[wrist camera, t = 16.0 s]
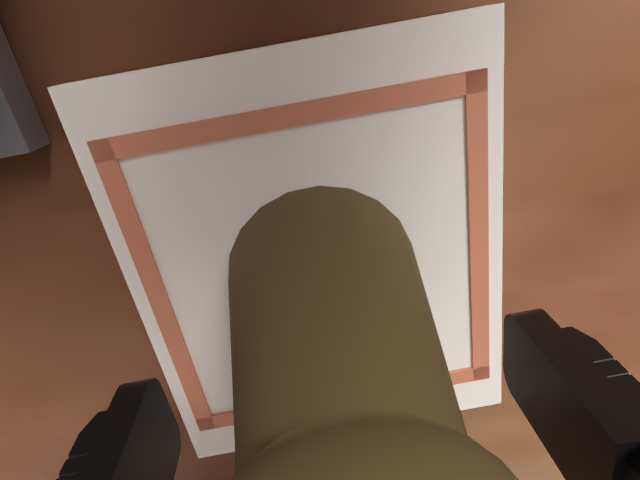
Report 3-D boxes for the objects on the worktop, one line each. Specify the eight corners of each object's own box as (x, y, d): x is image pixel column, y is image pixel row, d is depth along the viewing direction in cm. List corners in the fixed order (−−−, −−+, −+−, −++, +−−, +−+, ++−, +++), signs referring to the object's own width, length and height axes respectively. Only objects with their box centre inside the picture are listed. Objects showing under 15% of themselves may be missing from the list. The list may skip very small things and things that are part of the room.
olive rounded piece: (215, 191, 13) (1, 696, 3) (419, 180, 13) (815, 603, 3) (238, 356, 16) (160, 925, 6) (409, 343, 16) (620, 859, 6)
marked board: (63, 83, 12) (44, 87, 11) (488, 5, 12) (506, 2, 11) (202, 437, 18) (197, 461, 17) (490, 384, 18) (502, 405, 17)
